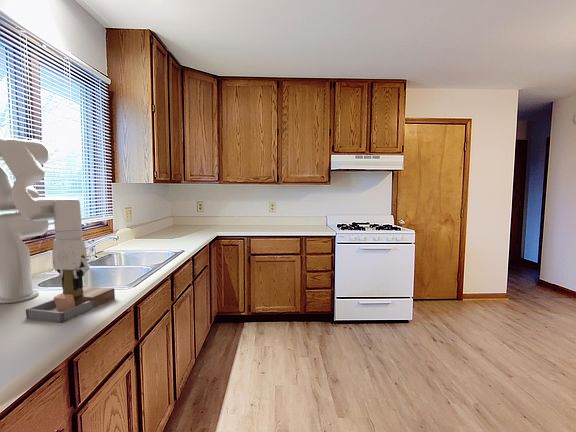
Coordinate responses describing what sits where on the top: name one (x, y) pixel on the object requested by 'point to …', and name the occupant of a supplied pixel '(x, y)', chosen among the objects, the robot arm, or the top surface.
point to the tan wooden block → (95, 295)
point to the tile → (64, 302)
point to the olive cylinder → (70, 284)
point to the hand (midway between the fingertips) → (72, 288)
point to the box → (50, 312)
